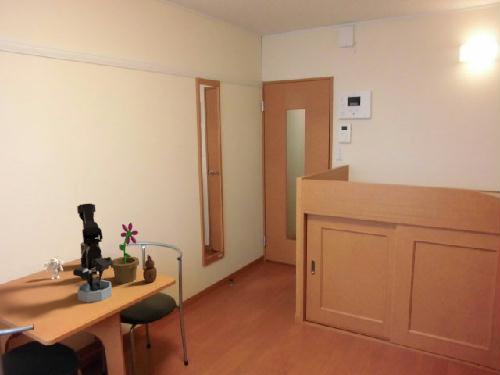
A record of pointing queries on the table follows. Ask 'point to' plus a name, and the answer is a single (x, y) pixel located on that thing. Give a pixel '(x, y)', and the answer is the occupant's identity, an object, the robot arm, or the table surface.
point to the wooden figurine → (149, 270)
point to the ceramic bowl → (94, 292)
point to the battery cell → (95, 280)
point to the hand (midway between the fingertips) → (94, 284)
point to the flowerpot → (126, 259)
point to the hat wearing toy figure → (54, 267)
